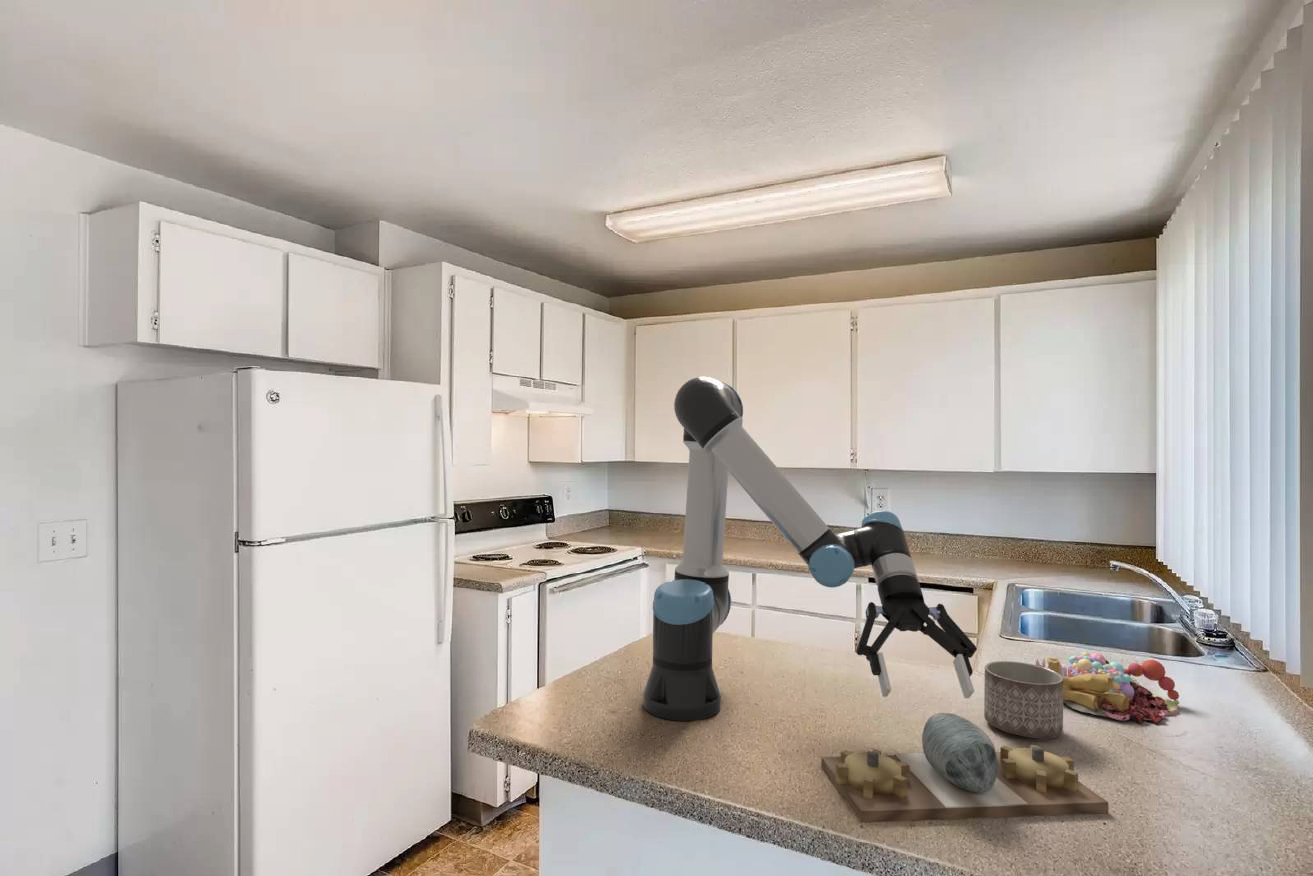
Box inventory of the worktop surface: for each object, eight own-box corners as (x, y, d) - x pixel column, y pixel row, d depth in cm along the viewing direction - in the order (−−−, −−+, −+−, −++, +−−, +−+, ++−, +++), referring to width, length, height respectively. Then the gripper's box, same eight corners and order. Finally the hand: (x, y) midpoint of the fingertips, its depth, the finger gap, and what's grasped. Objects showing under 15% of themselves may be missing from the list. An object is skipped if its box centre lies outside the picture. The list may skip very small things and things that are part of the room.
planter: (988, 737, 120) (988, 678, 120) (980, 711, 132) (981, 657, 132) (1070, 749, 115) (1070, 688, 116) (1054, 721, 127) (1055, 666, 127)
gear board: (858, 822, 92) (858, 781, 92) (819, 766, 108) (819, 731, 108) (1111, 812, 95) (1111, 773, 95) (1036, 760, 111) (1036, 726, 111)
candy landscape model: (1153, 736, 122) (1153, 685, 122) (1015, 698, 140) (1016, 653, 140) (1188, 704, 138) (1188, 658, 138) (1060, 673, 156) (1061, 633, 156)
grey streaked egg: (1023, 781, 94) (983, 710, 96) (961, 810, 94) (923, 739, 97) (990, 761, 107) (956, 699, 110) (936, 787, 107) (903, 724, 110)
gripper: (957, 596, 129) (995, 705, 114) (827, 593, 129) (847, 702, 114) (970, 573, 124) (1012, 685, 109) (834, 571, 124) (857, 681, 109)
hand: (928, 694), depth 112 cm, fingers open, 13 cm apart
